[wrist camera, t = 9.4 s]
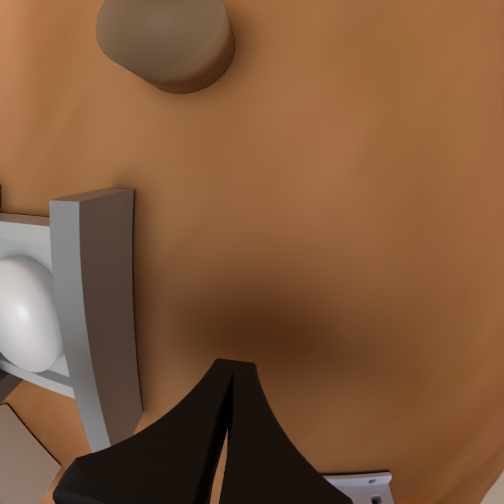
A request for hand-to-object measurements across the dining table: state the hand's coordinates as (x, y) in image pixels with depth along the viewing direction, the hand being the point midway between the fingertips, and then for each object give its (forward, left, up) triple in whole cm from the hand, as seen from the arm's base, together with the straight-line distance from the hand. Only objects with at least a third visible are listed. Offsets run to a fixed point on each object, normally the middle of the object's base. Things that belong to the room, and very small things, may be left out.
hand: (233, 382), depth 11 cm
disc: (+11, 0, -2) cm, 11 cm away
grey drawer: (+12, 0, -3) cm, 12 cm away
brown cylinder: (+3, -12, -4) cm, 13 cm away
